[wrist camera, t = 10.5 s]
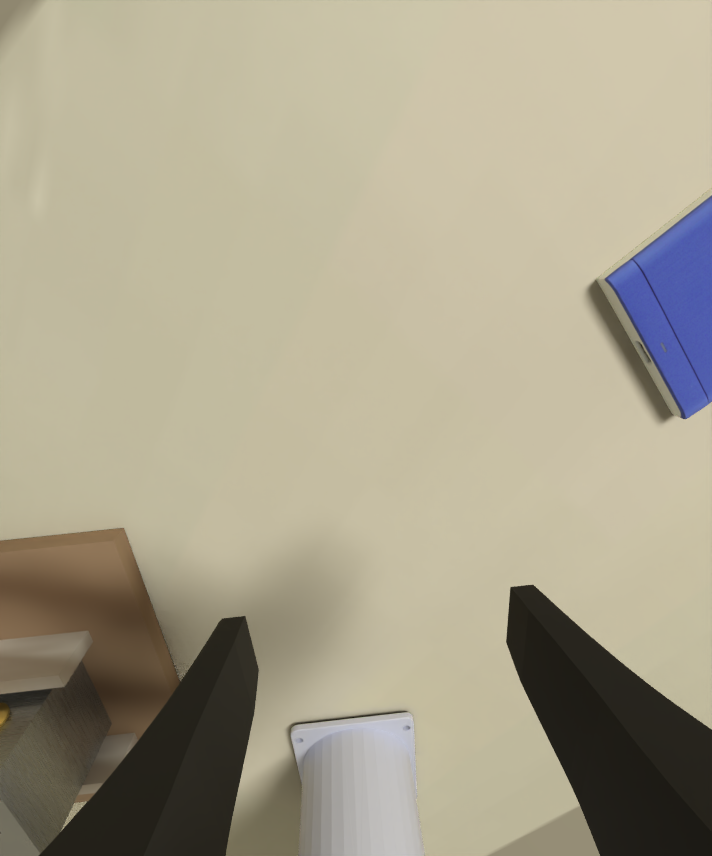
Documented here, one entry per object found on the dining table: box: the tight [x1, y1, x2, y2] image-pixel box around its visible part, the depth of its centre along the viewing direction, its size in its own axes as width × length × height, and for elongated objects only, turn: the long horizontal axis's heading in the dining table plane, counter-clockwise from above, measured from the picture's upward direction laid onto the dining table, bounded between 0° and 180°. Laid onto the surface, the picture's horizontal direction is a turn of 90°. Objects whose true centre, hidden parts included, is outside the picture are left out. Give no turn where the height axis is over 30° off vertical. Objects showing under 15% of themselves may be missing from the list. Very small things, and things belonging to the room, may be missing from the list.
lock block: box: [0, 660, 112, 856], centre depth 20 cm, size 6×4×6 cm, turn 5°
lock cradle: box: [0, 528, 180, 803], centre depth 22 cm, size 20×12×4 cm, turn 5°
